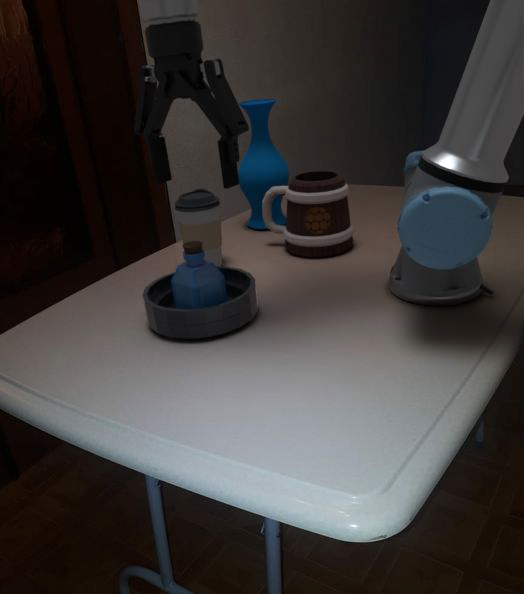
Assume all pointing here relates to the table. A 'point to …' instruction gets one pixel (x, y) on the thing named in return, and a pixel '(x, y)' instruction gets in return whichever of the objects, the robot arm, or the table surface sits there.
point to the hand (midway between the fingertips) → (196, 184)
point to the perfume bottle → (197, 280)
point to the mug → (313, 214)
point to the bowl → (201, 319)
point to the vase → (262, 165)
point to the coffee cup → (201, 222)
